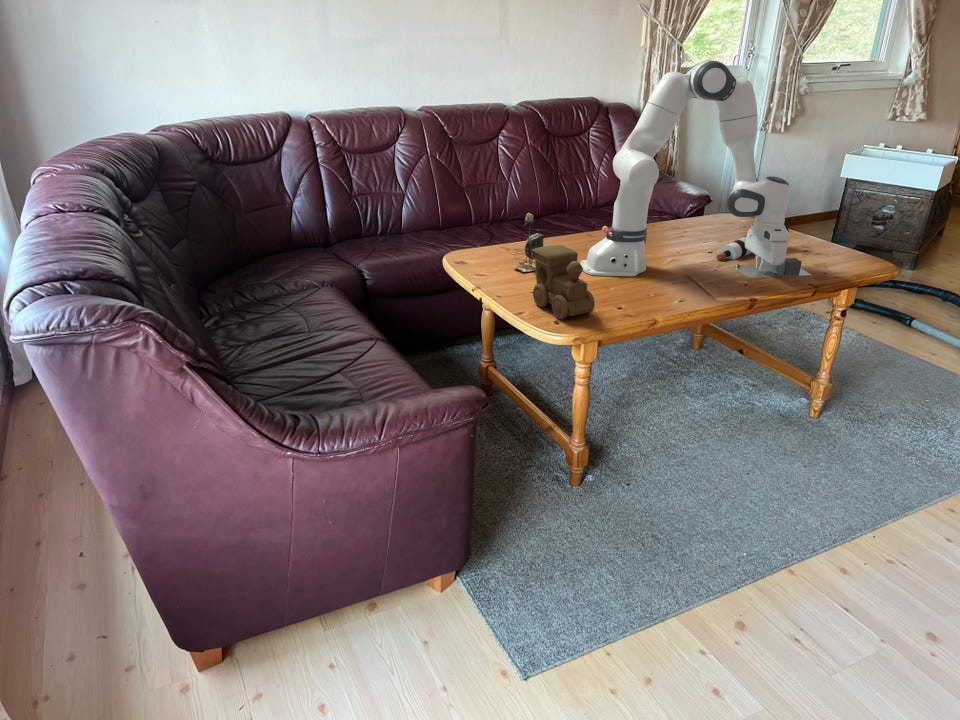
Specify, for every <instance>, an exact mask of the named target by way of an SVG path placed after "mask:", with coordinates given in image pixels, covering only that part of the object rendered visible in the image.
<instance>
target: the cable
mask: <svg viewBox="0 0 960 720" xmlns="http://www.w3.org/2000/svg"><path fill="white" fill-rule="evenodd" d="M784 225H785V227H786V229H787V231H788V232H789V233H790V231H789V228H788V225H787V223H785V222H784ZM746 237H747V234H746V235H743V236H741V237H739V238H738V239H735V240H734V241H732V242H729V243H728V244H725V245H723V246H722V248H721V249H720V250H721V251H720V253H719V254H716V257H715V258H716V260H717V261H721V260H724V259H729V260H732V261H733V260H738V259H741V258H742V257H745V256H749V255H752V254H754V253H753V252H751V251H749V250H748V249H746V248H745V241H746Z"/></svg>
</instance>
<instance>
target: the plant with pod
mask: <svg viewBox="0 0 960 720" xmlns="http://www.w3.org/2000/svg"><path fill="white" fill-rule="evenodd" d="M534 218H535V217H534V215H533V214H532V213H530V212H528V213H526V214H525V217H524V222H525V223H524V226H526V225H529V227H528V228H529V229H528V237H527V239H526V241H525V245H524V255H525V256H526V257H525V258H526V259H525V260H521V261H519V263H518V264H516V265H515V266H514V267H513V269H517V270H519V271H520V272H523V273H527V272H528V273H529V272H533V271H535V272H536V269H535V265H533V261H535V260H534V259H533V258H532V249H535V248H539V247H544V235H545V234H544V233H543V234H541V233H537V232H536V233H533V234H532V235H531V229H532V227H531V225H533V222H534ZM527 259H528V260H527ZM532 265H533V266H532Z"/></svg>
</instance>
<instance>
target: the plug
mask: <svg viewBox="0 0 960 720" xmlns="http://www.w3.org/2000/svg"><path fill="white" fill-rule="evenodd" d="M785 259H786V264H785V269H784V273H785V274H794V273H800V268H801V269H802V263H803V261H802V260H800V259H798V258H796V257H791V258H790V257H788V258H787V257H785ZM776 269H777V265H771V264H770V263H768V264H767V265H766V268H765V271H764V272H768V271H776Z"/></svg>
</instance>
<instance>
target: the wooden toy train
mask: <svg viewBox="0 0 960 720" xmlns="http://www.w3.org/2000/svg"><path fill="white" fill-rule="evenodd" d="M578 257H579V256H578V252H576V251H575V250H573V249H571V248H569V247H567V246H564V245H562V244H555V245H554V244H553V245H552V244H551V245H546V246H545V245H543V247H539V248H535V249H532V258H533V259H534V260H533V261H535V264H534V266H535V269H536V270H535V281H536V284H534V287H533V291H532V298H533V300H534V303H535V304H536V305H537V306H538V307H540V308H544V307H546V306H547V305H548V303H549V304H550V305H551V309H552V313H553V314H554V316H555V317H556V318H557V319H560V320H565V319H566V318H567V317H568V316H570V317H574V316H577V315H582V314H585V315H588V314H591V313H592V312H594V309H595V305H596V303H595V298H594V296H593V294H592V292H590V290H588V283H587V282H586V281H584V280H583V279H580V278H579V277H581V275H582V272H584V271H583V267H582V266H581V264H580V262H581V261H578Z"/></svg>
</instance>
